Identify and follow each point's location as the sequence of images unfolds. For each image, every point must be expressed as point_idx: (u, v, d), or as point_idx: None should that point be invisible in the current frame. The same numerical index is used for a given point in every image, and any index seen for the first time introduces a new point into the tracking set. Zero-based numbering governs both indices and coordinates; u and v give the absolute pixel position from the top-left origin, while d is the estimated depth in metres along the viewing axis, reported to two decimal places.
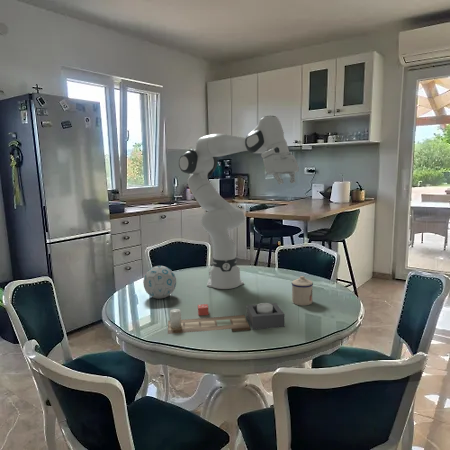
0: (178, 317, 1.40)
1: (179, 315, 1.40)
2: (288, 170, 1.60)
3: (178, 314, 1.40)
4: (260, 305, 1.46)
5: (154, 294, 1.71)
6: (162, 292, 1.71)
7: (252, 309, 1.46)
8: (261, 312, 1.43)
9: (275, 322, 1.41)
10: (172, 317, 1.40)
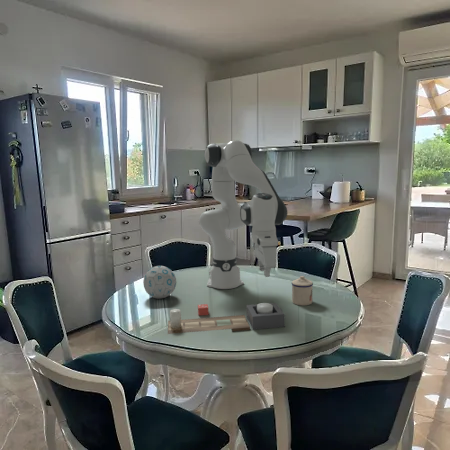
0: (178, 317, 1.40)
1: (179, 315, 1.40)
2: None
3: (178, 314, 1.40)
4: (260, 305, 1.46)
5: (154, 294, 1.71)
6: (162, 292, 1.71)
7: (252, 309, 1.46)
8: (261, 312, 1.43)
9: (275, 322, 1.41)
10: (172, 317, 1.40)
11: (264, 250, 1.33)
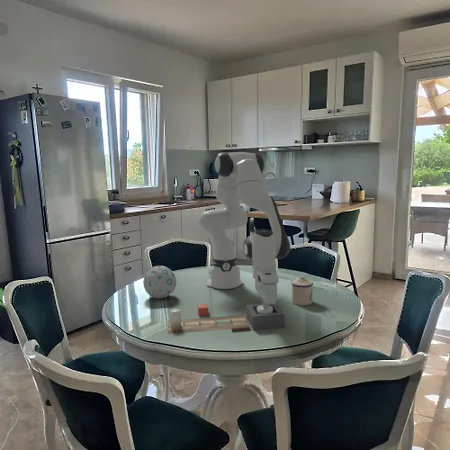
0: (178, 317, 1.40)
1: (179, 315, 1.40)
2: None
3: (178, 314, 1.40)
4: (260, 307, 1.46)
5: (154, 294, 1.71)
6: (162, 292, 1.71)
7: (252, 309, 1.46)
8: None
9: (275, 322, 1.41)
10: (172, 317, 1.40)
11: (265, 287, 1.35)
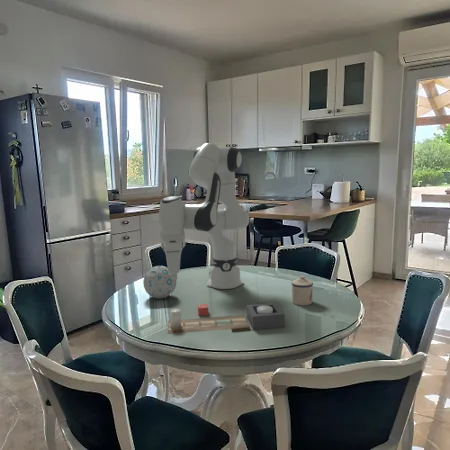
0: (178, 317, 1.40)
1: (179, 315, 1.40)
2: None
3: (178, 314, 1.40)
4: (260, 307, 1.46)
5: (154, 294, 1.71)
6: (162, 292, 1.71)
7: (252, 309, 1.46)
8: None
9: (275, 322, 1.41)
10: (172, 317, 1.40)
11: (167, 255, 1.28)
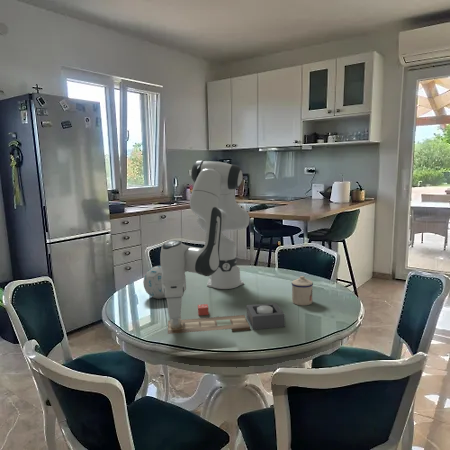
0: None
1: None
2: None
3: None
4: (260, 307, 1.46)
5: (154, 294, 1.71)
6: (162, 292, 1.71)
7: (252, 309, 1.46)
8: None
9: (275, 322, 1.41)
10: None
11: (168, 301, 1.31)
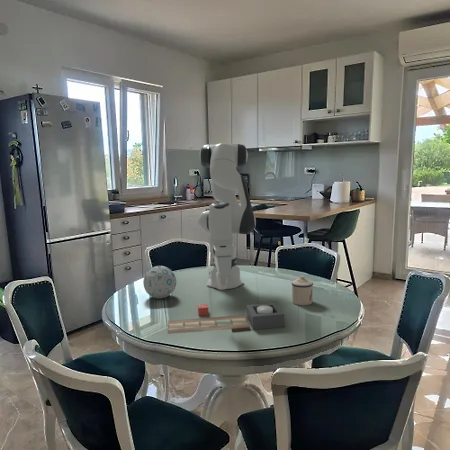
0: None
1: None
2: None
3: None
4: (260, 307, 1.46)
5: (154, 294, 1.71)
6: (162, 292, 1.71)
7: (252, 309, 1.46)
8: None
9: (275, 322, 1.41)
10: (219, 278, 1.40)
11: (218, 260, 1.31)
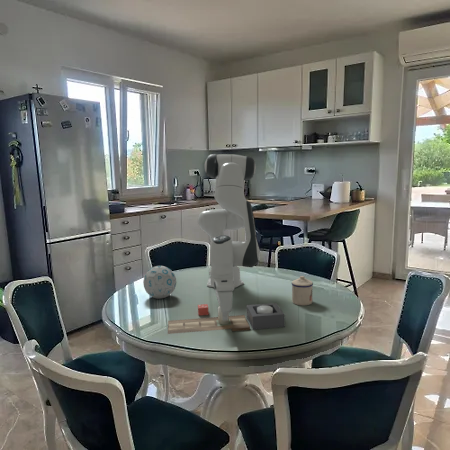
0: None
1: None
2: None
3: None
4: (260, 307, 1.46)
5: (154, 294, 1.71)
6: (162, 292, 1.71)
7: (252, 309, 1.46)
8: None
9: (275, 322, 1.41)
10: (220, 313, 1.42)
11: (220, 295, 1.33)
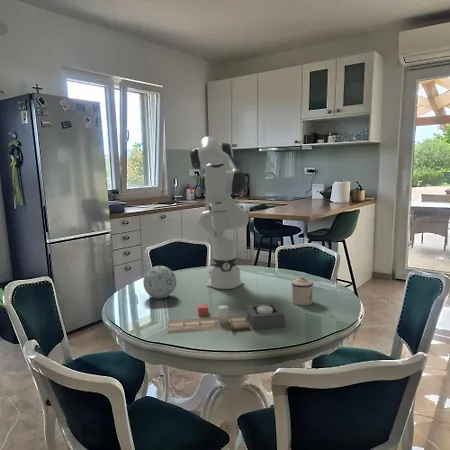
0: (226, 313, 1.42)
1: (227, 311, 1.43)
2: None
3: (226, 310, 1.42)
4: (260, 307, 1.46)
5: (154, 294, 1.71)
6: (162, 292, 1.71)
7: (252, 309, 1.46)
8: None
9: (275, 322, 1.41)
10: (220, 313, 1.42)
11: (214, 215, 1.40)
